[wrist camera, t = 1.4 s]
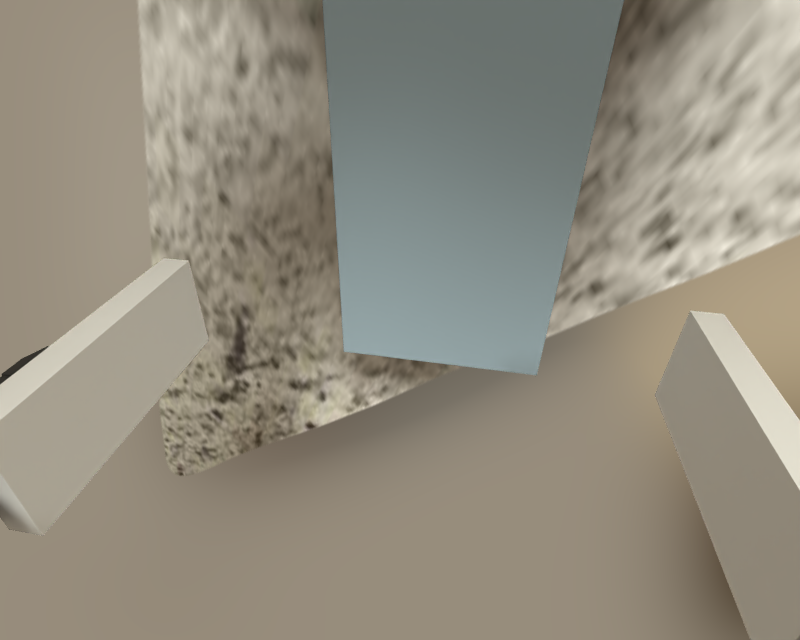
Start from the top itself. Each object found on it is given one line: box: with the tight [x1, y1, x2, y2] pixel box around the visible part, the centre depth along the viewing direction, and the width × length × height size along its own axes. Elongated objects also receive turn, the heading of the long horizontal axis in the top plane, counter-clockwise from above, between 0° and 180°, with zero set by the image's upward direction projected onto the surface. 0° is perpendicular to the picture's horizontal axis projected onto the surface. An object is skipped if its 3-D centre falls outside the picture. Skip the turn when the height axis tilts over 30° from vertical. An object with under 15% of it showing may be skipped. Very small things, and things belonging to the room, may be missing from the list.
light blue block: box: [323, 0, 624, 375], centre depth 23 cm, size 17×10×6 cm, turn 179°
